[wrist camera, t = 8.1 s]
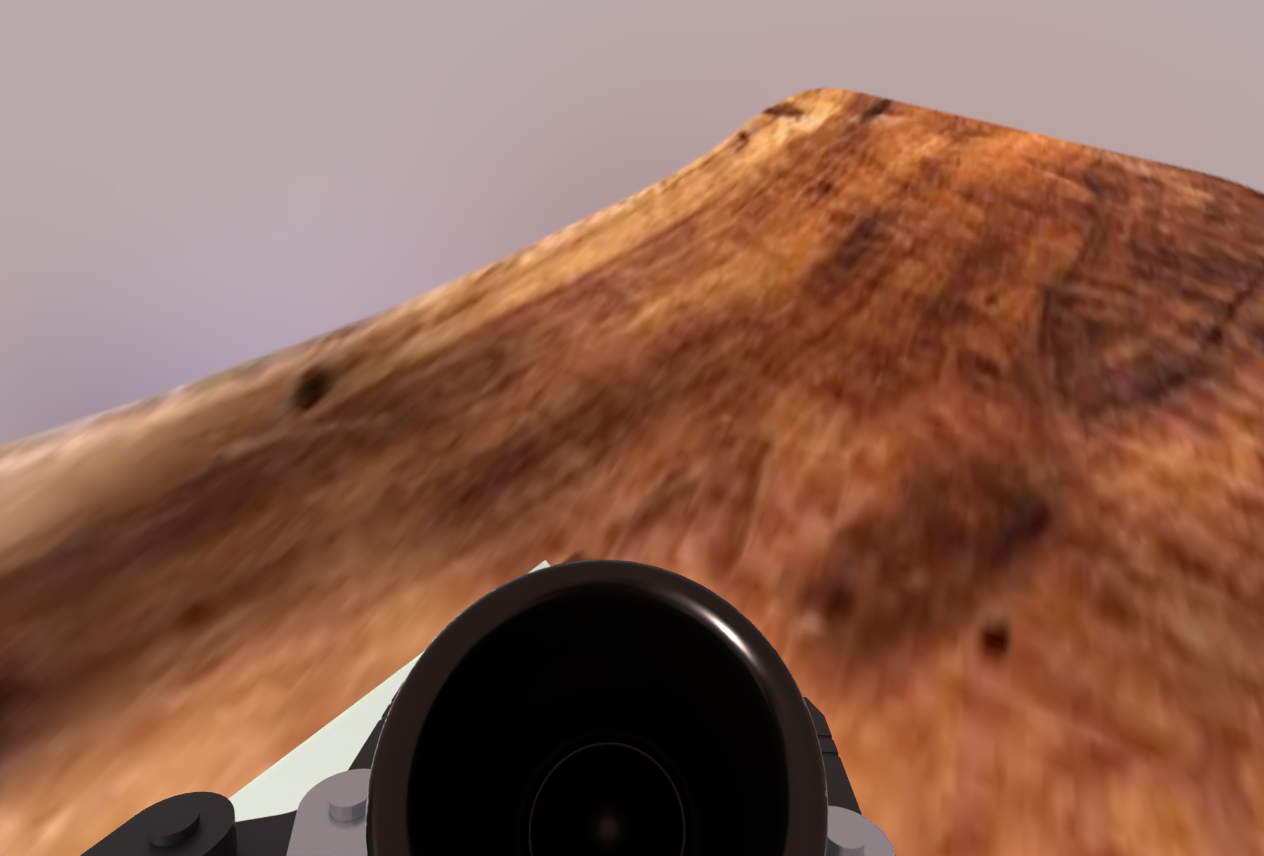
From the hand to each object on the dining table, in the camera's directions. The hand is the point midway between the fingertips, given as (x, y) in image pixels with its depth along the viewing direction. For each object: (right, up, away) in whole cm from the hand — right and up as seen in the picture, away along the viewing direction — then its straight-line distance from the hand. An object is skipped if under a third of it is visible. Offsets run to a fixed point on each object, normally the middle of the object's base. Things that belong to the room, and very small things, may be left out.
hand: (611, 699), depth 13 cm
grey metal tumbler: (0, -4, +3) cm, 5 cm away
